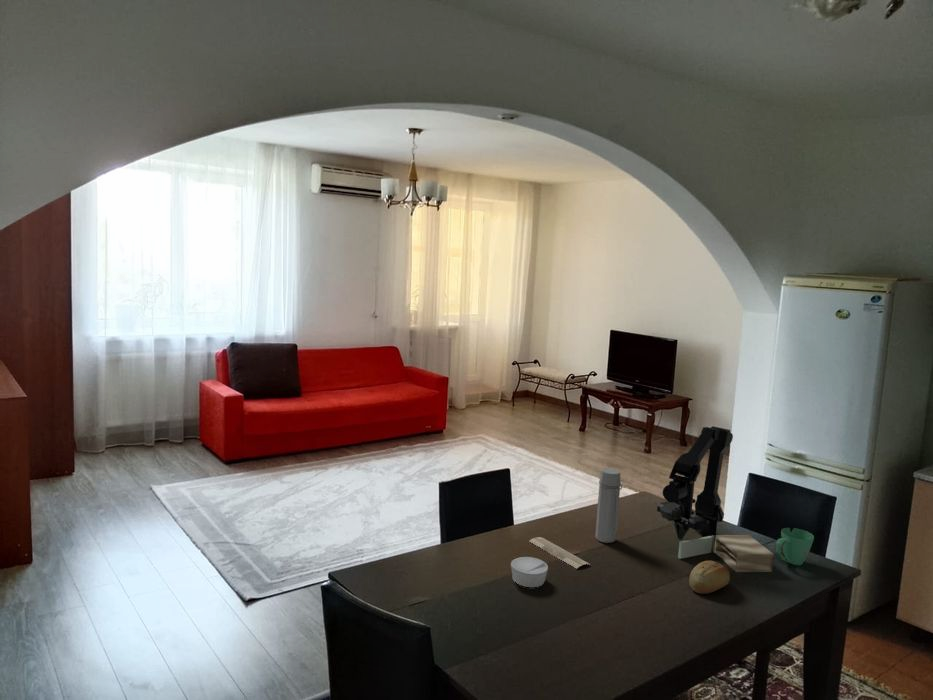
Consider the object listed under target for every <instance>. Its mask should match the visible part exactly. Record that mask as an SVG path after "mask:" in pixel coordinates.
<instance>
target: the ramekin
mask: <svg viewBox="0 0 933 700" xmlns="http://www.w3.org/2000/svg"><path fill="white" fill-rule="evenodd" d="M510 568H511V576H512V577H511V578H512V580H513V582H514V583H515V582H516V583H517V584H519V585H522V586H525V587H537V588H539V586H540V587H542V586H543V585H544V583H545V581H546V578H547V574H548V571H549V566H548V564H547V563H546V562H545V561H543V560H542V559H539V558H536V557H532V556H522V557H521V556H520V557H517V558H515V559H513V560H511V562H510ZM516 583H515V584H516ZM517 584H516V585H517ZM519 585H518V586H519ZM525 587H524V588H525Z"/></svg>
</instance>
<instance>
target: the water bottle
mask: <svg viewBox="0 0 933 700" xmlns="http://www.w3.org/2000/svg"><path fill="white" fill-rule="evenodd" d="M598 484H599V485H598V495H597V496H598V497H597V499H598V500H597V510H596V511H597V512H596V524H595V525H596V526H595V538H596V540H597V541H599V542H601V543H605V544H611V543H614V542H615V541H616V539H617V531H618V525H619V522H618V521H619V503H620V492H621V491H620V490H622V489H623V485H622V484H621V471H620V470H619V469H616V468H609V467H607V468H602V469H601V471H600V476H599V481H598Z"/></svg>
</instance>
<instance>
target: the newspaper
mask: <svg viewBox="0 0 933 700" xmlns="http://www.w3.org/2000/svg"><path fill="white" fill-rule="evenodd" d="M530 542H531V543H530ZM528 543H530V544H532V543H533V544H534V545H533V544H532V545H533V546H535V545H536V547H537V546H538V547H540V548H541V549H540V548H539V549H540V550H542V549H543V550H542V551H544V550H545V551H547V552H548V553H547V552H546V553H547V554H549V553H550V554H549V555H551V556H552V555H553V556H552V557H554V556H555V557H554V558H556V557H557V558H558V559H557V558H556V559H557V560H559V559H560V560H559V561H561V560H562V561H561V562H563V561H564V562H566V563H567V564H566V563H565V564H566V565H568V564H569V565H571V566H573V567H574V568H573V567H572V568H573V569H575V568H576V569H577V570H578V568H580V567H582V566H584V565H586V564H587V565H586V566H588V565H589V566H591V564H590V563H589V562H587V561H585V560H583V559H582V558H580V557H578V556H576V555H574V554H572V552H571V553H570V552H569V551H568V550H565V549H563V548H562V547H560V546H558V545H557V544H554V543H553V542H552V541H549V540H547V539H546V538H544V537H541V536H538V537H533V538H531V539H530V540H529V541H528ZM538 547H537V548H538ZM545 551H544V552H545ZM564 562H563V563H564ZM569 565H568V566H569ZM571 566H570V567H571ZM576 569H575V570H576Z"/></svg>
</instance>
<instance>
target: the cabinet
mask: <svg viewBox="0 0 933 700" xmlns="http://www.w3.org/2000/svg"><path fill="white" fill-rule="evenodd" d="M713 553H715V554H716V555H717V557H719V558H720V559H721V560H723V561H724V562H725V563H726V564H727V565H728V566H729V567H730V568H731V569H733V570H734V571H735V572H736V573H772V572H773V563H774V553H773V552H772V551H770V550H769V549H768V548H766V547H765V546H764V545H762V544H761V543H760V542H759V541H757V540H756V539H755V538H753V537H752V536H751V535H750V534H719V535H716V537H715V538H714V547H713Z"/></svg>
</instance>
